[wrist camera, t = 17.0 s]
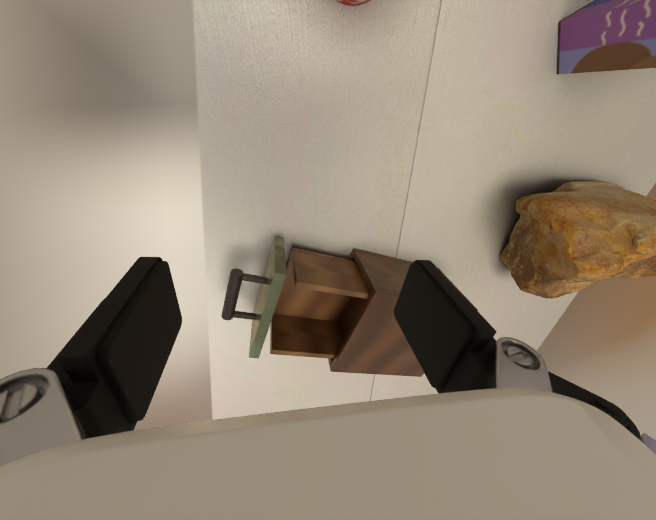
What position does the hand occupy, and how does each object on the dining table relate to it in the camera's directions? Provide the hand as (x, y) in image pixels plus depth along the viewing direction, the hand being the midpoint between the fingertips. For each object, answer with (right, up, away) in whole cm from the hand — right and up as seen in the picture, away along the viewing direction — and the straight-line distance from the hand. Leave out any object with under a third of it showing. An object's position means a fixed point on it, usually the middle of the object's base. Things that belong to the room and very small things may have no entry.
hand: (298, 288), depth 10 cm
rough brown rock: (+34, +6, +30) cm, 46 cm away
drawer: (-3, -2, +26) cm, 27 cm away
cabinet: (+9, -5, +32) cm, 34 cm away
